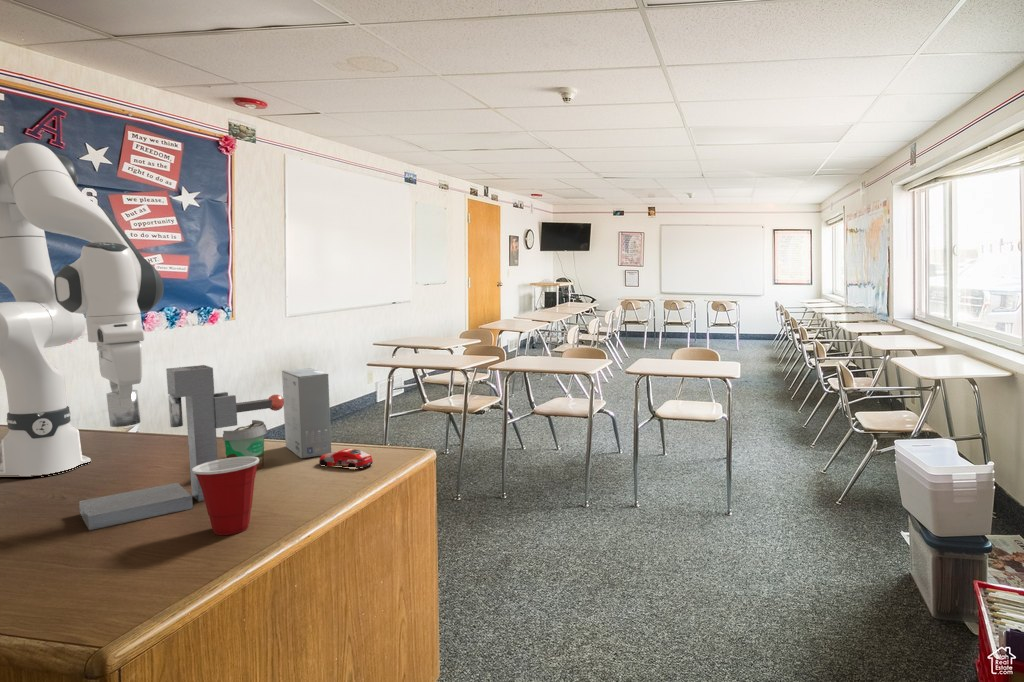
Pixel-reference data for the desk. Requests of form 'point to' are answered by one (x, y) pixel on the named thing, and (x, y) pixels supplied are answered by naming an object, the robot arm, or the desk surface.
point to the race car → (346, 458)
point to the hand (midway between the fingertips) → (122, 404)
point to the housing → (123, 410)
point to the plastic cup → (228, 492)
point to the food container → (246, 442)
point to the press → (201, 424)
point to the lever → (261, 404)
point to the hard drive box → (307, 412)
